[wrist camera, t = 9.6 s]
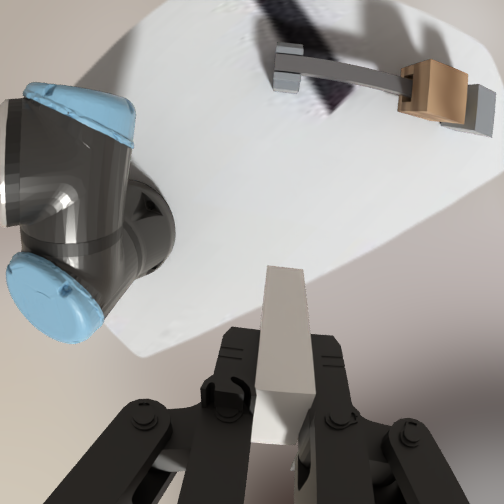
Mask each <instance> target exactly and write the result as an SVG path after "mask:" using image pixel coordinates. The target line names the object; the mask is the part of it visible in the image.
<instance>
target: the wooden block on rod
mask: <svg viewBox="0 0 504 504" xmlns="http://www.w3.org/2000/svg"><path fill="white" fill-rule="evenodd" d="M401 77H403V78H406V79H410V80H413V86H412V97H411V98H408V97H405V96H401V95H399V101H398V110H397V111H398V112H402V113H405V114H409V115H412V116H416V117H419V118H423V119H426V120H429V121H439V122H448V123H457V124H464V121H465V112H466V101H467V86H468V74H467V73H465V72H462V71H460V70H458V69H455V68H453V67H450V66H448V65H445V64H443V63H440V62H438V61H435V60H432V59H429V60H426V61H423V62H419V63H416V64H413V65H410V66H407V67H405V68H402V69H401Z"/></svg>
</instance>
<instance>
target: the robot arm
mask: <svg viewBox="0 0 504 504" xmlns="http://www.w3.org/2000/svg"><path fill="white" fill-rule="evenodd" d="M23 96H24V98H20V99H6V100H5V101H4V102H3V103H2V104H1V105H0V225H1V226H2V227H10V226H17V225H20V233H21V244H22V250H21V252H18V253H16V254H15V255H14V256H13V257H12V260H11V261H10V264H9V265H8V266H7V270H6V281H7V286H8V289H9V292H10V294H11V297H12V299H13V300H14V302H15V304H16V306H17V307H18V309H19V310H20V311H21V313H22V314H23V315H24V316H25V317H26V318H27V319H28V320H29V322H30V323H31V324H32V325H33V326H34V327H36V328H37V329H38V330H39V331H41V332H42V333H44V334H45V335H47V336H49V337H50V338H52V339H55V340H57V341H60V342H63V343H68V344H76V343H80V342H82V341H85V340H87V339H88V338H89V337H90V336H91V335H92V334H93V333H94V332H95V331H96V330H97V329H98V328H99V327H101V325H102V324H103V322H104V319H105V318H106V317H107V315H108V314H109V313H110V311H111V310H112V309H113V307H114V306H115V305H116V303H117V302H118V301H119V299H120V298H121V297H122V296H123V294H124V293H125V292H126V290H127V289H128V288H129V287H130V285H131V284H132V283H133V281H134V280H136V279H138V278H140V277H143V276H145V275H148V274H150V273H152V272H154V271H155V270H157V269H158V268H159V267H160V266H161V265H162V264H163V263H164V261H165V260H166V259H167V257H168V256H169V255H170V253H171V251H172V249H173V246H174V242H175V223H174V219H173V216H172V213H171V211H170V209H169V207H168V205H167V204H166V202H165V201H164V199H163V198H162V197H161V196H160V195H159V194H158V193H157V192H156V191H155V190H154V189H152V188H151V187H149V186H147V185H146V184H143V183H141V182H138V181H133V180H128V175H129V167H130V160H131V154H132V149H134V143H133V135H134V127H135V119H136V111H135V107H134V105H133V104H132V103H131V102H130V101H129V100H128V99H126V98H124V97H121V96H117V95H113V94H109V93H105V92H101V91H96V90H91V89H86V88H80V87H73V86H66V85H56V84H47V83H40V82H32V83H29V84H28V85H27V86H26V89H25V90H24V91H23ZM344 367H345V365H344V360H343V355H342V350H341V346H340V344H339V343H338V342H337V340H336V339H335V338H334V336H330V335H317V334H310V325H309V316H308V307H307V298H306V290H305V281H304V273H303V269H294V268H285V267H276V266H267V273H266V282H265V290H264V298H263V306H262V314H261V323H260V330H255V329H247V328H238V327H231V328H230V329H229V330H228V331H227V332H226V333H225V334H224V335H223V339H222V343H221V347H220V351H219V355H218V359H217V362H216V366H215V370H214V374H213V375H212V376H210V377H209V378H208V379H206V380H205V381H204V383H203V385H202V386H201V388H200V390H201V402H200V403H198V404H197V405H194V406H192V407H187V408H179V409H166V407H165V406H164V405H162V404H161V403H159V402H158V401H154V400H151V399H138V400H135V401H132V402H130V403H129V404H127V405H126V406H125V407H124V408H123V409H122V410H121V411H120V412H119V414H118V415H117V416H116V417H115V418H114V420H113V421H112V422H111V423H110V424H109V425H108V427H107V428H106V429H105V430H104V431H103V433H102V434H101V435H100V436H99V437H98V439H97V440H96V441H95V442H94V443H93V445H92V446H91V447H90V448H89V449H88V451H87V452H86V453H85V454H84V455H83V457H82V458H81V459H80V460H79V461H78V463H77V464H76V465H75V466H74V467H73V469H72V470H71V471H70V472H69V473H68V475H67V476H66V477H65V478H64V479H63V481H62V482H61V483H60V484H59V485H58V487H57V488H56V489H55V490H54V491H53V493H52V494H51V495H50V496H49V497H48V499H47V500H46V501H45V502H44V503H43V504H158V502H159V500H160V499H161V497H162V496H163V494H164V492H165V491H166V489H167V488H168V486H169V484H170V483H171V481H172V480H173V478H174V476H175V475H176V473H177V471H185V475H184V479H183V483H182V487H181V491H180V495H179V499H178V503H177V504H243V503H244V496H245V487H246V480H247V471H248V462H249V453H250V444H251V442H257V443H268V444H283V445H296V443H297V440H298V453H297V455H296V457H295V459H294V461H293V463H292V466H291V469H290V471H291V470H292V471H293V470H294V469H295V479H294V480H295V481H294V504H469V502H468V500H467V498H466V496H465V494H464V492H463V490H462V488H461V486H460V485H459V483H458V481H457V479H456V477H455V475H454V474H453V472H452V470H451V468H450V466H449V464H448V463H447V461H446V459H445V457H444V456H443V454H442V452H441V450H440V449H439V447H438V445H437V443H436V442H435V440H434V438H433V437H432V435H431V433H430V431H429V430H428V429H427V427H426V426H425V425H424V424H423V423H421V422H419V421H418V420H415V419H411V418H404V419H400V420H398V421H396V422H394V424H393V425H392V426H388V425H384V424H379V423H376V422H372V421H369V420H367V419H365V418H364V417H362V416H361V415H360V413H359V411H358V410H357V409H356V408H355V407H354V406H353V405H352V402H351V397H350V391H349V386H348V380H347V375H346V370H345V368H344Z"/></svg>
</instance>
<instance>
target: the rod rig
mask: <svg viewBox="0 0 504 504" xmlns="http://www.w3.org/2000/svg"><path fill="white" fill-rule="evenodd" d="M301 75H302V76H309V77H316V78H323V79H329V80H335V81H340V82H345V83H351V84H356V85H360V86H365V87H369V88H374V89H378V90H382V91H386V92H390V93H394V94H397V95H401V96H405V97H408V98H411V97H412V86H413V80H410V79H406V78H403V77H400V76H396V75H392V74H389V73H385V72H381V71H377V70H373V69H369V68H365V67H360V66H355V65H351V64H346V63H340V62H335V61H329V60H323V59H317V58H310V57H303V45H301V44H292V43H283V42H277V46H276V55H275V66H274V77H273V79H274V83H273V91H275V92H285V93H294V94H297V93H298V92H299V85H300V82H301ZM495 101H496V92H494V91H492V90H490V89H488V88H486V87H484V86H482V85H480V84H473V85H468V86H467V101H466V112H465V121H464V124H457V123H448V122H441V126H443V127H446V128H449V129H452V130H455V131H459V132H465V133H471V134H476V135H481V136H486V137H491V138H492V133H493V124H494V114H495Z"/></svg>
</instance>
